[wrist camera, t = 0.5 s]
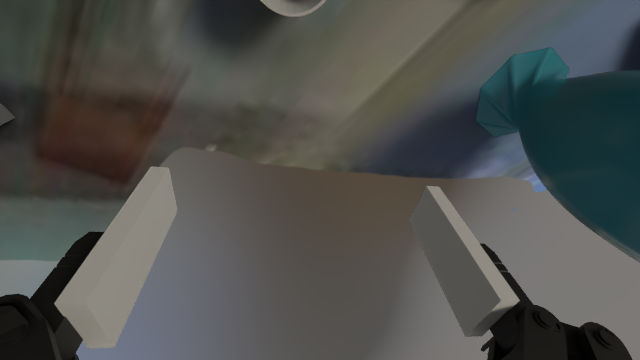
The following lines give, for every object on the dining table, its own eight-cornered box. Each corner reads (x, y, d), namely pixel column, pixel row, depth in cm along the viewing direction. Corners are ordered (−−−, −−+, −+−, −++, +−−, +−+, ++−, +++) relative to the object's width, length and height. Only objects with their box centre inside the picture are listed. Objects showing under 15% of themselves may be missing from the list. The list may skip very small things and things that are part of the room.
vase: (477, 51, 40) (760, 157, 16) (595, 26, 40) (1072, 99, 16) (461, 151, 50) (619, 308, 26) (555, 132, 50) (804, 275, 26)
